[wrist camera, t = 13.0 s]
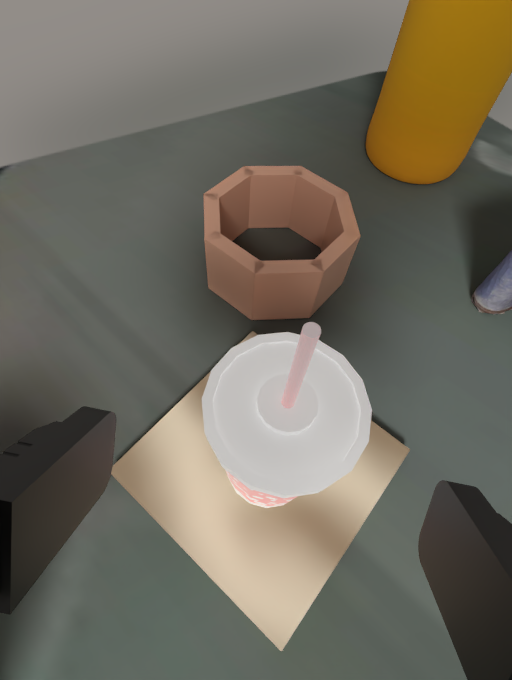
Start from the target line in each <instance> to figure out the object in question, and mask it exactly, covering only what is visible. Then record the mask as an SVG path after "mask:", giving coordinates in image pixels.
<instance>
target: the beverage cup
mask: <svg viewBox="0 0 512 680" xmlns="http://www.w3.org/2000/svg"><path fill="white" fill-rule="evenodd" d="M320 334H321V327H320V326H319V325H318V324H316V323H314V322H307V323H305V324H304V326H303V328H302V331H301V335H299V334H294V333H290V332H282V333H272V334H262V335H257V336H255V337H253V338H251V339H249V340H247V341H245V342H242V343H240V344H238V345H236V346H234V347H232V348H231V349H230V350H229V351H228V352H227V353H226V354H225V356H224V357H223V358H222V359H221V360H220V361H219V362H218V363H217V364H216V366H215V367H214V368H213V369H212V370H211V373H210V376H209V379H208V382H207V385H206V388H205V390H204V393H203V396H202V410H203V422H204V432H205V435H206V438H207V440H208V442H209V444H210V445H211V447H212V449H213V451H214V453H215V455H216V457H217V458H218V460H219V462H220V464H221V466H222V467H223V468H224V469H225V470H226V473H227V476H228V478H229V480H230V482H231V484H232V486H233V487H234V489H235V491H236V493H237V494H239V495H240V496H241V497H242V498H244V499H245V500H246V501H247V502H249V503H250V504H253V505H257V506H261V507H264V508H270V507H276V506H282V505H285V504H286V503H288V502H289V501H291V500H293V499H294V498H296V497H298V496H302V495H308V494H315V493H319V492H320V491H322V490H324V489H325V488H327V487H328V486H330V485H331V484H333V483H334V482H336V481H337V480H339V479H340V478H342V477H343V476H345V475H346V474H348V473H349V472H351V471H352V469H353V468H354V466H355V464H356V463H357V461H358V459H359V458H360V456H361V454H362V453H363V451H364V449H365V447H366V446H367V444H368V442H369V435H370V425H371V415H372V408H371V405H370V402H369V399H368V396H367V392H366V389H365V386H364V383H363V380H362V378H361V377H360V376H359V375H358V373H357V372H356V371H355V370H354V368H353V367H352V366H351V365H350V363H349V362H348V361H347V360H346V358H345V357H344V356H343V355H342V354H340V353H339V352H337V351H336V350H334V349H332V348H331V347H329V346H328V345H326V344H324V343H323V342H321V341H320V340H319V337H320Z"/></svg>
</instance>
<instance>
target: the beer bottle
mask: <svg viewBox="0 0 512 680" xmlns="http://www.w3.org/2000/svg"><path fill="white" fill-rule="evenodd" d="M511 73H512V0H409V4H408V6H407V10H406V13H405V16H404V19H403V22H402V26H401V29H400V32H399V35H398V38H397V42H396V45H395V48H394V51H393V54H392V58H391V61H390V64H389V67H388V70H387V74H386V77H385V80H384V83H383V86H382V90H381V93H380V96H379V99H378V102H377V105H376V108H375V111H374V114H373V116H372V119H371V122H370V125H369V128H368V132H367V138H366V151H367V155H368V157H369V159H370V161H371V162H372V163H373V165H374V166H375V167H376V168H377V169H379V170H380V171H381V172H383V173H384V174H386V175H388V176H390V177H392V178H394V179H397V180H399V181H403V182H407V183H412V184H431V183H436V182H439V181H442V180H444V179H446V178H448V177H449V176H450V175H451V174H452V173H454V172H455V170H456V169H457V168H458V167H459V165H460V164H461V162H462V161H463V159H464V158H465V156H466V154H467V153H468V151H469V149H470V147H471V145H472V143H473V141H474V139H475V137H476V135H477V133H478V131H479V130H480V128H481V126H482V124H483V122H484V121H485V119H486V117H487V115H488V113H489V112H490V110H491V108H492V106H493V104H494V103H495V101H496V99H497V97H498V95H499V94H500V92H501V90H502V89H503V87H504V85H505V83H506V81H507V80H508V78H509V76H510V74H511Z"/></svg>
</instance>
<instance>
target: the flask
mask: <svg viewBox="0 0 512 680" xmlns="http://www.w3.org/2000/svg"><path fill="white" fill-rule="evenodd" d="M473 297H474V301H473ZM472 303H473V304H475V306H477V308H478V310H479V312H483V313H484V312H485V313H489V314H490V313H491V314H502V313H503V314H504V313H505V311H507V310H512V250H511V251H510V252H509V253H508V255H507V256H506V257H505V258H504V259H503V260H502V262H501V263H500V264H499V265H498V266H497V267H496V268H495V269H494V270H493V271H492V272H491V273H490V274H489V275H488V276H487V277H486V279H485V280H484V281H483V282H482V283H481V284H480V285H479V286H478V287H477V289H476V290H475V291H474V293H473V295H472Z"/></svg>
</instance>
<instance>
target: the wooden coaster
mask: <svg viewBox="0 0 512 680" xmlns="http://www.w3.org/2000/svg"><path fill="white" fill-rule="evenodd" d="M257 335H258V334H256V333H255V332H254V331H252V332H251V333H250V334H249V335H248V336H247V337H246V338H245V339H244V340H243V341H242V342H245V341H247V340H249V339H251V338H253V337H255V336H257ZM242 342H240V343H242ZM240 343H239V344H240ZM210 373H211V372H209V373H208V374H207V375H206V376H205V377H204V378H203V379H202V380H201V381H200V382H199V383H198V384H197V385H196V386H195V387H194V388H193V389H192V390H191V391H190V392H189V393H188V394H187V395H186V396H185V397H184V398H183V399H182V400H181V401H179V402H178V403H177V404H176V405H175V406H174V407H173V408H172V409H171V410H170V411H169V412H168V413H167V414H166V415H165V416H164V417H163V418H162V419H161V420H160V421H159V422H158V423H157V424H156V425H155V426H154V427H153V428H152V429H151V430H149V431H148V432H147V433H146V434H145V435H144V436H143V437H142V438H141V439H140V440H139V441H138V442H137V443H136V444H135V445H134V446H133V447H132V448H131V449H130V450H129V451H128V452H127V453H126V454H125V455H124V456H123V457H122V458H121V459H119V460H118V461H117V462H116V463H115V464H114V465H113V466H112V471H111V474H112V475H113V476H114V477H115V478H116V479H117V481H118V482H119V483H120V484H121V485H122V486H123V487H124V488H125V489H126V490H127V491H128V492H129V493H130V494H131V495H132V496H133V497H134V498H135V499H136V500H137V501H138V502H139V503H140V505H141V506H142V507H143V508H144V509H145V510H146V511H147V512H148V513H149V514H150V515H151V516H152V517H153V518H154V519H155V520H156V521H157V522H158V523H159V524H160V525H161V526H162V528H163V529H164V530H165V531H166V532H167V533H168V534H169V535H170V536H171V537H172V538H173V539H174V540H175V541H176V542H177V543H178V544H179V545H180V546H181V547H182V548H183V549H184V550H185V552H186V553H187V554H188V555H189V556H190V557H191V558H192V559H193V560H194V561H195V562H196V563H197V564H198V565H199V566H200V567H201V568H202V569H203V570H204V571H205V572H206V573H207V575H208V576H209V577H210V578H211V579H212V580H213V581H214V582H215V583H216V584H217V585H218V586H219V587H220V588H221V589H222V590H223V591H224V592H225V593H226V594H227V595H228V596H229V597H230V599H231V600H232V601H233V602H234V603H235V604H236V605H237V606H238V607H239V608H240V609H241V610H242V611H243V612H244V613H245V614H246V615H247V616H248V617H249V618H250V619H251V620H252V622H253V623H254V624H255V625H256V626H257V627H258V628H259V629H260V630H261V631H262V632H263V633H264V634H265V635H266V636H267V637H268V638H269V639H270V640H271V641H272V642H273V643H274V644H275V646H276V647H277V648H278V649H279V650H280V651H282V650H283V648H284V647H285V645H286V644H287V642H288V640H289V639H290V637H291V636H292V634H293V633H294V631H295V629H296V628H297V626H298V625H299V623H300V622H301V620H302V618H303V617H304V615H305V614H306V612H307V611H308V609H309V607H310V606H311V604H312V603H313V601H314V600H315V598H316V597H317V595H318V593H319V592H320V590H321V589H322V587H323V586H324V584H325V582H326V581H327V579H328V578H329V576H330V575H331V573H332V571H333V570H334V568H335V567H336V565H337V564H338V562H339V560H340V559H341V557H342V556H343V554H344V553H345V551H346V549H347V548H348V546H349V545H350V543H351V542H352V540H353V539H354V537H355V535H356V534H357V532H358V531H359V529H360V528H361V526H362V524H363V523H364V521H365V520H366V518H367V517H368V515H369V513H370V512H371V510H372V509H373V507H374V506H375V504H376V502H377V501H378V499H379V498H380V496H381V495H382V493H383V492H384V490H385V488H386V487H387V485H388V484H389V482H390V481H391V479H392V477H393V476H394V474H395V473H396V471H397V470H398V468H399V466H400V465H401V463H402V462H403V460H404V459H405V457H406V455H407V454H408V452H409V451H410V449H409V448H407V447H406V446H405V445H403V444H402V443H401V442H399V441H398V440H397V439H395V438H394V437H393V436H391V435H390V434H389V433H387V432H386V431H385V430H383V429H382V428H381V427H379V426H378V425H377V424H376V423H374V422H373V421H372V420H371V425H370V435H369V442H368V444H367V446H366V447H365V449H364V451H363V453H362V454H361V456H360V458H359V459H358V461H357V463H356V464H355V466H354V468H353V469H352V471H351V472H349V473H348V474H346V475H345V476H343V477H342V478H340V479H339V480H337V481H336V482H334V483H333V484H331V485H330V486H328V487H327V488H325V489H324V490H322V491H320V492H319V493H315V494H308V495H302V496H298V497H296V498H294V499H293V500H291V501H289V502H288V503H286V504H285V505H282V506H276V507H270V508H264V507H261V506H257V505H253V504H250V503H249V502H247V501H246V500H245V499H244V498H242V497H241V496H240V495H239V494H237V493H236V491H235V489H234V487H233V486H232V484H231V482H230V480H229V478H228V476H227V473H226V470H225V469H224V468H223V467H222V466H221V464H220V462H219V460H218V458H217V457H216V455H215V453H214V451H213V449H212V447H211V445H210V444H209V442H208V440H207V438H206V435H205V432H204V422H203V410H202V396H203V393H204V390H205V388H206V385H207V382H208V379H209V376H210Z"/></svg>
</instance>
